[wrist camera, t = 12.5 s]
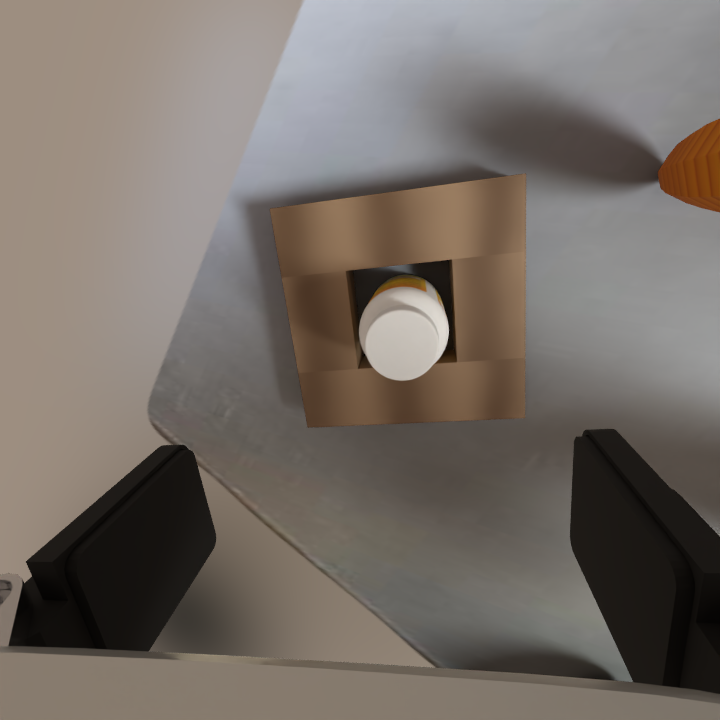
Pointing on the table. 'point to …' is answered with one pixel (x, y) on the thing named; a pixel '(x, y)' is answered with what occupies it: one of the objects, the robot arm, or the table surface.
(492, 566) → the table surface
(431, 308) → the supplement bottle
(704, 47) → the table surface
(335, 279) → the bore block
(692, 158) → the carrot
